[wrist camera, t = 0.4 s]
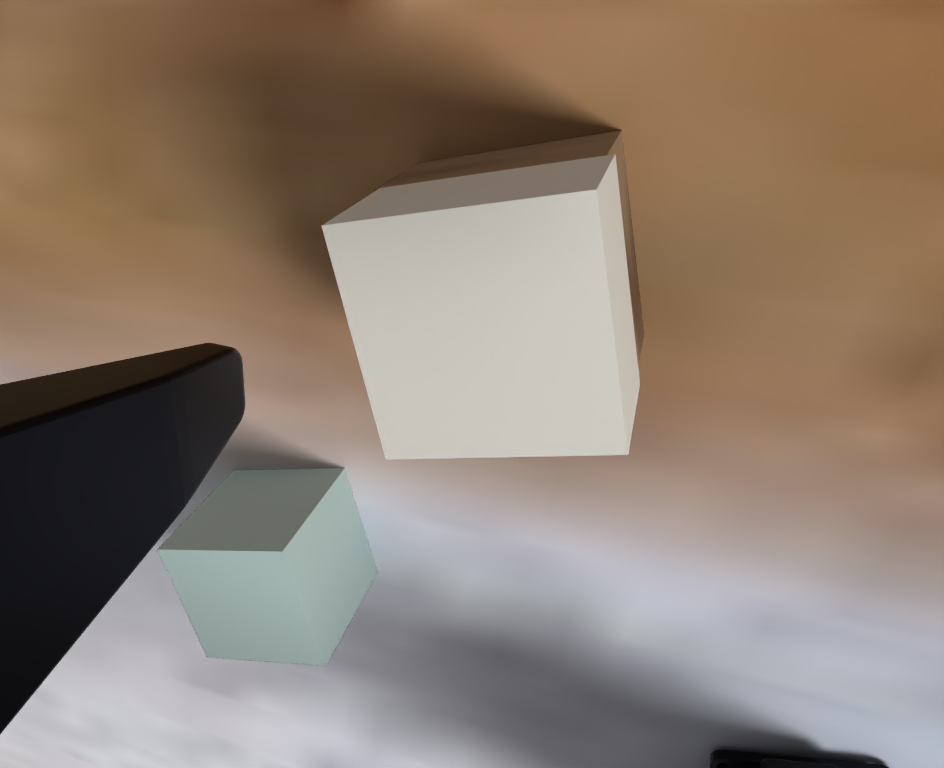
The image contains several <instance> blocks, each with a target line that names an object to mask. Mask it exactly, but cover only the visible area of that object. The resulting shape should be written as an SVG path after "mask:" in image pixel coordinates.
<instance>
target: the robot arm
mask: <svg viewBox="0 0 944 768" xmlns="http://www.w3.org/2000/svg"><path fill="white" fill-rule="evenodd" d="M244 410H245V392H244V378H243V363H242V357H241V355H240V353H239V352H238V351H237V350H236V349H235V348H232V347H228V346H223V345H219V344H214V343H204V344H199V345H194V346H189V347H184V348H179V349H174V350H169V351H164V352H160V353H155V354H150V355H145V356H140V357H135V358H130V359H125V360H120V361H115V362H110V363H105V364H100V365H95V366H90V367H85V368H80V369H76V370H71V371H66V372H61V373H56V374H51V375H46V376H41V377H36V378H31V379H26V380H21V381H16V382H11V383H6V384H1V385H0V734H1V733H2V732H3V730H4V729H5V728H6V727H7V726H8V724H9V723H10V722H11V721H12V719H13V718H14V717H15V716H16V714H17V713H18V712H19V711H20V710H21V708H22V707H23V706H24V705H25V703H26V702H27V701H28V700H29V698H30V697H31V696H32V695H33V694H34V692H35V691H36V690H37V689H38V687H39V686H40V685H41V684H42V682H43V681H44V680H45V679H46V678H47V676H48V675H49V674H50V673H51V671H52V670H53V669H54V668H55V667H56V665H57V664H58V663H59V662H60V660H61V659H62V658H63V657H64V655H65V654H66V653H67V652H68V651H69V649H70V648H71V647H72V646H73V644H74V643H75V642H76V641H77V639H78V638H79V637H80V636H81V635H82V633H83V632H84V631H85V630H86V628H87V627H88V626H89V625H90V623H91V622H92V621H93V620H94V619H95V617H96V616H97V615H98V614H99V612H100V611H101V610H102V609H103V608H104V606H105V605H106V604H107V603H108V601H109V600H110V599H111V598H112V596H113V595H114V594H115V593H116V592H117V590H118V589H119V588H120V587H121V585H122V584H123V583H124V582H125V580H126V579H127V578H128V577H129V576H130V574H131V573H132V572H133V571H134V569H135V568H136V567H137V566H138V564H139V563H140V562H141V561H142V560H143V558H144V557H145V556H146V555H147V553H148V552H149V551H150V550H151V549H152V547H153V546H154V545H155V544H156V542H157V541H158V540H159V539H160V537H161V536H162V535H163V534H164V533H165V531H166V530H167V529H168V528H169V526H170V525H171V524H172V523H173V521H174V520H175V519H176V518H177V516H178V515H179V514H180V512H181V511H182V510H183V509H184V507H185V506H186V504H187V503H188V502H189V500H190V499H191V497H192V496H193V494H194V493H195V492H196V490H197V488H198V487H199V485H200V484H201V482H202V481H203V479H204V478H205V476H206V474H207V473H208V471H209V470H210V468H211V467H212V465H213V464H214V462H215V461H216V459H217V457H218V456H219V454H220V453H221V451H222V450H223V448H224V447H225V445H226V443H227V442H228V440H229V439H230V437H231V436H232V434H233V433H234V431H235V429H236V428H237V426H238V425H239V423H240V421H241V419H242V417H243V414H244ZM710 768H889V767H887V766H884V765H878V764H868V763H857V762H847V761H836V760H826V759H815V758H804V757H794V756H783V755H773V754H762V753H752V752H741V751H731V750H716V751H713V752H712V753H711V754H710Z"/></svg>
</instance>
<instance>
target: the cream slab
mask: <svg viewBox="0 0 944 768" xmlns="http://www.w3.org/2000/svg"><path fill="white" fill-rule="evenodd" d="M321 226H322V230H323V233H324V237H325V241H326V244H327V248H328V251H329V255H330V259H331V262H332V266H333V270H334V273H335V277H336V280H337V284H338V288H339V291H340V295H341V299H342V302H343V306H344V309H345V313H346V317H347V320H348V324H349V328H350V331H351V335H352V338H353V342H354V346H355V349H356V353H357V357H358V360H359V364H360V367H361V371H362V375H363V378H364V382H365V386H366V389H367V393H368V396H369V400H370V404H371V407H372V411H373V415H374V418H375V422H376V425H377V429H378V433H379V436H380V440H381V444H382V447H383V451H384V454H385V458H386V459H435V458H488V457H540V456H592V455H628V453H629V447H630V441H631V435H632V429H633V423H634V417H635V411H636V405H637V399H638V393H639V387H640V380H639V371H638V361H637V352H636V343H635V333H634V324H633V314H632V305H631V296H630V286H629V277H628V267H627V258H626V249H625V239H624V230H623V220H622V211H621V202H620V192H619V183H618V173H617V164H616V155H615V154H611V155H605V156H598V157H591V158H584V159H577V160H570V161H564V162H557V163H549V164H542V165H535V166H528V167H522V168H515V169H508V170H501V171H494V172H487V173H480V174H473V175H466V176H460V177H453V178H446V179H439V180H432V181H425V182H418V183H411V184H404V185H398V186H391V187H384V188H380V189H378V190H376V191H375V192H373V193H372V194H370V195H369V196H367V197H365V198H364V199H362V200H361V201H359V202H358V203H356V204H354V205H353V206H351V207H350V208H348V209H347V210H345V211H343V212H342V213H340V214H339V215H337V216H336V217H334V218H332V219H331V220H329V221H328V222H326V223H325V224H323V225H321Z"/></svg>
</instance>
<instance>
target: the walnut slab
mask: <svg viewBox="0 0 944 768" xmlns="http://www.w3.org/2000/svg"><path fill="white" fill-rule="evenodd" d="M611 154H615V155H616V164H617V173H618V183H619V192H620V202H621V211H622V220H623V230H624V239H625V249H626V258H627V267H628V277H629V286H630V296H631V305H632V314H633V324H634V333H635V343H636V352H637V361H638V364H639V358H640V353H641V348H642V342H643V337H644V328H643V319H642V310H641V301H640V292H639V283H638V274H637V265H636V256H635V247H634V238H633V229H632V220H631V210H630V201H629V192H628V183H627V174H626V165H625V156H624V147H623V138H622V130H619V131H613V132H607V133H601V134H595V135H588V136H582V137H576V138H570V139H564V140H558V141H552V142H545V143H539V144H533V145H527V146H521V147H515V148H509V149H503V150H496V151H490V152H484V153H478V154H472V155H466V156H460V157H453V158H447V159H441V160H435V161H429V162H423V163H417V164H415V165H414V166H412V167H411V168H409V169H407V170H406V171H404V172H403V173H401V174H399V175H398V176H396V177H395V178H393V179H392V180H390V181H388V182H387V183H385V184H384V185H382V186H380V187H379V188H377V189H376V190H378V189H380V188H384V187H391V186H398V185H404V184H411V183H418V182H425V181H432V180H439V179H446V178H453V177H460V176H466V175H473V174H480V173H487V172H494V171H501V170H508V169H515V168H522V167H528V166H535V165H542V164H549V163H557V162H564V161H570V160H577V159H584V158H591V157H598V156H605V155H611ZM376 190H374V191H376Z"/></svg>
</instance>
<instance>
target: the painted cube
mask: <svg viewBox="0 0 944 768" xmlns="http://www.w3.org/2000/svg"><path fill="white" fill-rule="evenodd" d="M157 551H158V553H159V555H160V557H161V559H162V561H163V564H164V566H165V568H166V570H167V572H168V574H169V577H170V579H171V581H172V583H173V585H174V587H175V590H176V592H177V594H178V596H179V598H180V600H181V603H182V605H183V607H184V609H185V611H186V613H187V616H188V618H189V620H190V622H191V624H192V626H193V628H194V631H195V633H196V635H197V637H198V639H199V641H200V644H201V646H202V648H203V650H204V652H205V654H206V657H209V658H223V659H237V660H250V661H264V662H278V663H292V664H306V665H320V666H326V664H327V662H328V661H329V659H330V657H331V655H332V654H333V652H334V650H335V648H336V646H337V645H338V643H339V641H340V639H341V637H342V636H343V634H344V632H345V630H346V629H347V627H348V625H349V623H350V621H351V620H352V618H353V616H354V614H355V612H356V611H357V609H358V607H359V605H360V604H361V602H362V600H363V598H364V596H365V595H366V593H367V591H368V589H369V587H370V586H371V584H372V582H373V580H374V579H375V577H376V575H377V573H378V570H377V567H376V564H375V561H374V558H373V555H372V552H371V548H370V545H369V542H368V539H367V536H366V533H365V529H364V526H363V523H362V520H361V517H360V514H359V511H358V507H357V504H356V501H355V498H354V495H353V492H352V488H351V485H350V482H349V479H348V476H347V473H346V470H345V468H319V469H279V470H238V471H233V472H232V473H231V474H230V475H229V476H228V477H227V478H226V479H225V480H224V481H223V482H222V483H221V484H220V485H219V486H218V487H217V488H216V489H215V490H214V491H213V492H212V493H211V494H210V495H209V496H208V497H207V498H206V500H205V501H204V502H203V503H202V504H201V505H200V506H199V507H198V508H197V509H196V510H195V511H194V512H193V513H192V514H191V515H190V516H189V517H188V518H187V519H186V520H185V521H184V522H183V523H182V524H181V525H180V526H179V527H178V528H177V529H176V530H175V532H174V533H173V534H172V535H171V536H170V537H169V538H168V539H167V540H166V541H165V542H164V543H163V544H162V545H161V546H160V547H159V548H158V549H157Z"/></svg>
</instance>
